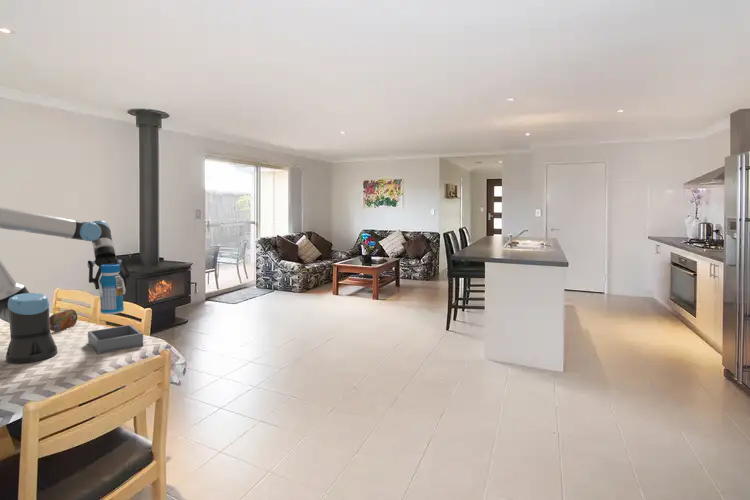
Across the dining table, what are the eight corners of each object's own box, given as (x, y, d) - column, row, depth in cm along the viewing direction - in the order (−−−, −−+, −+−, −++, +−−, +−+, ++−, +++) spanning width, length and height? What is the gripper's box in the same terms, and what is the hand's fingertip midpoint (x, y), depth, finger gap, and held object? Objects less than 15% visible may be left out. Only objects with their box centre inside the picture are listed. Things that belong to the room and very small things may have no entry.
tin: (54, 333, 189) (53, 315, 188) (47, 333, 189) (46, 315, 188) (78, 324, 204) (77, 307, 203) (72, 324, 204) (71, 307, 203)
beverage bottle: (102, 315, 170) (100, 266, 168) (98, 311, 176) (96, 264, 174) (126, 312, 176) (124, 265, 174) (121, 309, 182) (119, 263, 180)
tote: (143, 345, 174) (142, 333, 173) (97, 354, 163) (97, 341, 162) (131, 335, 187) (130, 324, 186) (88, 343, 176) (87, 331, 175)
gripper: (129, 255, 192) (139, 295, 181) (75, 258, 179) (82, 302, 168) (131, 244, 187) (141, 285, 177) (76, 246, 174) (83, 291, 164)
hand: (113, 293), depth 172 cm, fingers closed on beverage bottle, 7 cm apart
